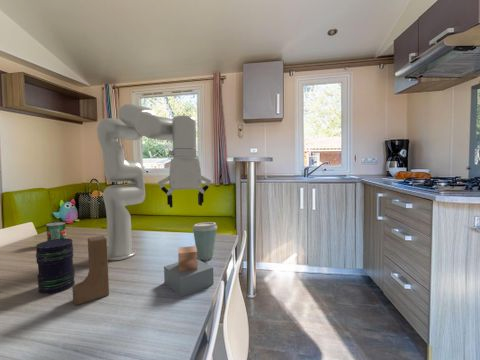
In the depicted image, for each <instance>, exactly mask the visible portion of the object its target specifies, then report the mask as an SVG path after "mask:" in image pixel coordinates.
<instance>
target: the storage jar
mask: <svg viewBox="0 0 480 360" xmlns="http://www.w3.org/2000/svg"><path fill="white" fill-rule="evenodd" d="M35 249H36V250H35V252H36V253H35V258H36V260H35V261H36V264H37V266H38V267H37V268H38V274H37V285H38V293H39V294H40V295H55V294H59V293H61V292H65V291H67V290H69V289H71V288H72V287H73V285H75V284H76V283H75V276H76V273H75V267H74V261H73V259H74V258H73V257H74V245H73V239H72V238H66V239H55V240H49V241H47V240H46V241H42V242H39V243H37V244H36V246H35Z"/></svg>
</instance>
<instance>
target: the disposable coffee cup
mask: <svg viewBox="0 0 480 360" xmlns="http://www.w3.org/2000/svg"><path fill="white" fill-rule="evenodd" d="M217 229H218V225H217V223H216V222H212V221H210V222H209V221H207V222H199V223H195V224H194V225H193V226H192V232H193V238H194V243H195V245H194V246H196V248H197V259H198V260H200V261H207V260H211V259H212V258H213V256H214V251H215V243H216V235H217Z"/></svg>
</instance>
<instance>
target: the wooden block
mask: <svg viewBox="0 0 480 360" xmlns="http://www.w3.org/2000/svg"><path fill="white" fill-rule="evenodd" d="M107 246H108V238H107V237H106V236H105V235H99V236H93V237H88V238H87V250H88V251H87V252H88V253H87V254H88V256H87V257H88V273H87V276H85V278H84V280H82V281H81V282H78V283H75V284H74V285H73V286H72V287H71V288H72V300H73V303H74V305H75V306H79V305H81V304H86V303H88V302H91V301H94V300H97V299H101V298H103V297H107V296H109V295H110V283H109V260H108V256H107Z"/></svg>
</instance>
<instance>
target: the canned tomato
mask: <svg viewBox="0 0 480 360" xmlns="http://www.w3.org/2000/svg"><path fill="white" fill-rule="evenodd" d="M45 225H46V241H49V240H55V239H67V233H66V231H67V230H66V222H65V221H56V222H50V223H47V224H45Z"/></svg>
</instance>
